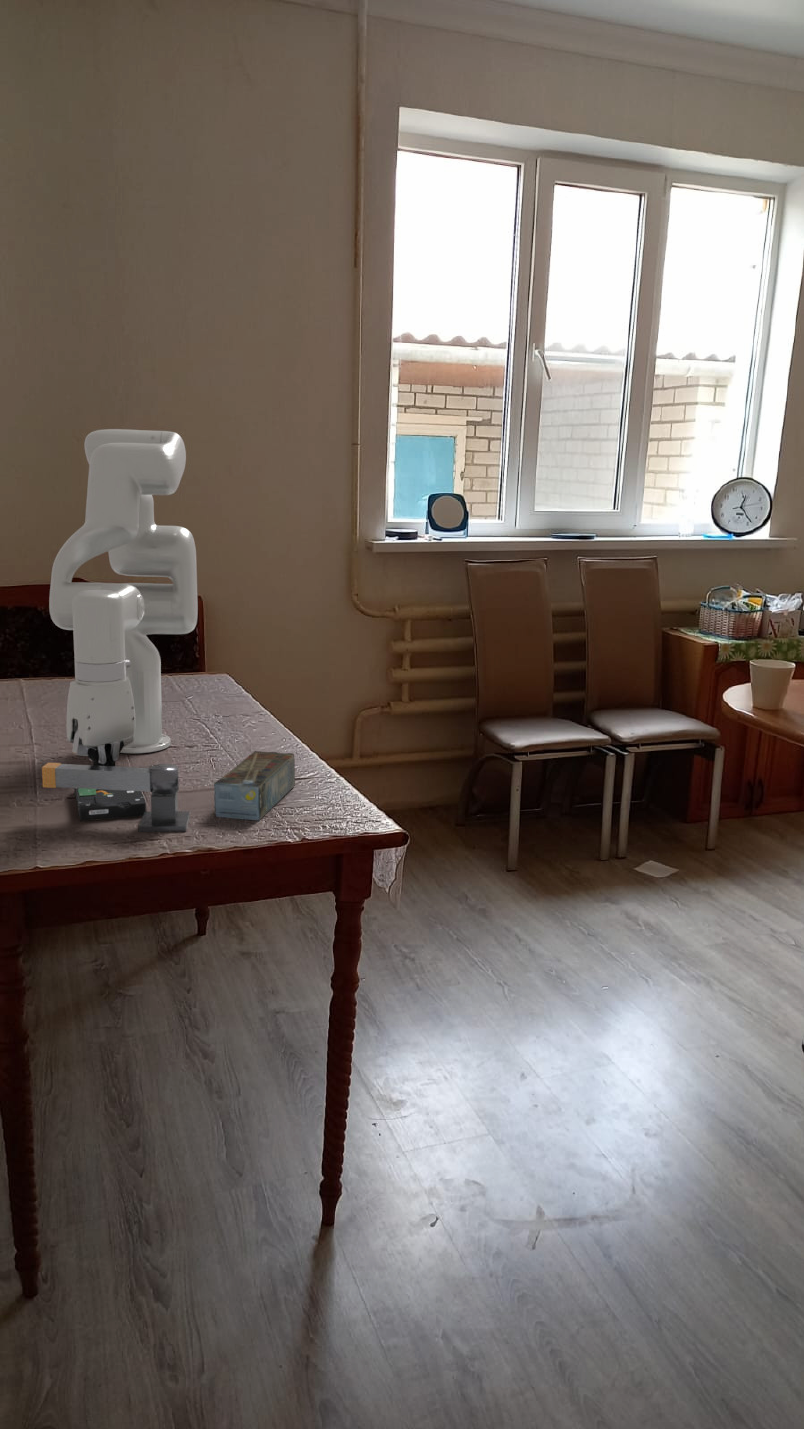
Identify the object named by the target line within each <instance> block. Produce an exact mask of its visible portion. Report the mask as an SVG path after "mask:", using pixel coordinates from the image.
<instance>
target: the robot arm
mask: <svg viewBox="0 0 804 1429" xmlns="http://www.w3.org/2000/svg"><path fill="white" fill-rule="evenodd" d="M84 452H85V456H86V461H87V463H88V465H89V466H88V477H87V478H88V479H87V490H86V491H87V492H86V505H85V520H84V523H83V525H82V526H81V527H80V528H79V529H77V530H76V531H75V532H74V533H73V534H72V535H70V536H69V537H68V539H67V540H66V541H65V542H64V544H62V546H61V547H60V548H59V551H58V553H57V554H56V557H55V558H54V561H53V565H52V569H51V577H50V578H51V580H50V585H49V587H50V589H49V598H48V599H49V600H48V602H49V604H48V605H49V606H48V608H49V615H50V619H51V620H52V622H53V624H55V626H57V627H58V628H60V629H62V630H67V631H73V632H72V633H73V652H74V657H73V658H74V677H75V680H73V681H70V683H69V689H68V695H67V704H66V706H67V707H66V724H65V725H66V739H67V741H68V743H71V744H72V749H71V750H72V751H71V752H72V754H73V755H75V756H76V755H77V756H79V757H80V756H82V757H83V756H84V757H87V758H88V759H89V761H91V762H92V763H93V764H92V765H95V766H116V762H117V761H118V760H119V759H120V757H119V756H120V753H121V754H147V753H148V754H149V753H155V752H159V751H162V750H165V749H167V748H169V747H170V746H171V737H170V736H168V735H167V734H164V733H163V710H162V708H163V706H162V705H163V704H162V703H163V702H162V673H161V672H162V670H161V669H162V668H161V667H162V664H161V663H162V662H161V661H162V660H161V655H160V652H159V650H158V648H157V647H156V646H155V644H154V643H153V642H152V641H151V640H150V639H149V637H148V635H187V634H189V633H191V632H193V631H194V630H195V628H196V626H197V624H198V610H199V608H198V607H199V606H198V605H199V604H198V601H199V600H198V574H197V573H198V572H197V549H196V548H197V547H196V544H195V539H194V536H193V533H191V531H190V530H189V529H188V528H185V527H183V526H180V525H179V526H178V525H158V524H156V522H155V510H154V509H155V501H154V497H153V496H170V495H173V494H175V492H176V491H177V489H178V488H179V486H180V482H181V480H182V477H183V475H184V472H185V468H186V463H187V462H186V461H187V451H186V446H185V442H184V440H183V438H182V437H181V435H180V434H178V433H177V432H174V431H167V430H147V429H146V430H143V429H140V430H139V429H130V428H129V429H127V428H126V429H123V428H122V429H120V428H114V429H113V428H108V429H97V430H94V431H92V432H90V433H88V434H87V436H85V439H84ZM107 552H108V558H109V560H108V561H109V565H110V568H111V569H112V570H113V572H114V573H116V574H117V575H122V576H128V577H148V578H149V577H151V578H152V577H155V578H156V577H157V578H160V577H161V578H169V579H170V580H171V582H172V583H152V582H148V583H147V582H146V583H145V582H125V583H120V582H119V583H116V582H115V583H113V582H84V581H81V582H80V581H79V582H72V581H73V577H74V575H75V573H76V571H78V569H79V568H80V567H81V566H82V565H84V564H85V563H87V562H88V561H90V560H92V559H94V558H95V557H97V556H98V557H99V556H100V555H103V554H104V553H107Z"/></svg>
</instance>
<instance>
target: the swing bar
mask: <svg viewBox="0 0 804 1429" xmlns="http://www.w3.org/2000/svg"><path fill="white" fill-rule="evenodd" d="M41 778H42V787H43V788H49V789H50V788H51V789H52V788H53V789H56V788H68V789H74V788H85V789H106V790H127V791H142V792H147V793H148V792H149V793H151V794H152V793H154V794H171V793H175V792H177V793H178V791H179V790H180V786H179V785H180V784H179V783H180V782H179V766H178V765H176V764H172V763H171V764H170V763H159V764H154V765H151V766H149V767H135V766H117V765H115V766H95V765H93V764H92V765H89V764H74V763H73V764H70V763H69V764H68V763H61V762H47V763H46V764H44V765H43V766H41Z"/></svg>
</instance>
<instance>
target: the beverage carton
mask: <svg viewBox="0 0 804 1429" xmlns="http://www.w3.org/2000/svg"><path fill="white" fill-rule="evenodd" d="M295 766H296V765H295V754H294V753H292V752H291V753H290V752H288V753H287V752H285V753H283V752H276V751H262V750H261V751H259V750H255V751H253V752H251V754H249V755H248V756H247V757H245V758H244V760H242V761H241V762H240V763H238V764H237V765H236V766H235V767H234V768H232V769H231V770H230V771H229V772H227V773H226V774H225V775H223V776H222V777H221V778H219V779H218V780H217V781H215V782H214V785H213V788H214V789H213V790H214V809H215V817H217V818H227V819H228V818H229V819H236V820H237V819H238V820H246V821H247V820H248V821H249V820H250V821H256V822H257V821H260V820H261V819H262V818H263V817H264V816H266V814H268V813H269V812H270V811H271V810H272V809H273V808H274V807H275V806H276V805H277V804H278V803H279V802H280V801H281V800H282V799H283V798H284V797H285V796H286V795H287V794H288V793H289V792H290V791H291V790H292V789H293V788H294V787H296V768H295Z"/></svg>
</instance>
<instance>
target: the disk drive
mask: <svg viewBox="0 0 804 1429" xmlns="http://www.w3.org/2000/svg"><path fill="white" fill-rule="evenodd" d="M73 790H74V798H75V802H76V807H77V812H78V819H79V821H80V820H89V821H95V820H94V819H101V820H111V819H121V818H122V819H124V818H125V819H126V818H133V817H134V818H135V817H137V818H138V817H143V815H144V812H145V811H147V802H146V798H145V797H144V794H143V791H127V790H106V789H85V788H73ZM92 819H93V820H92Z"/></svg>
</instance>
